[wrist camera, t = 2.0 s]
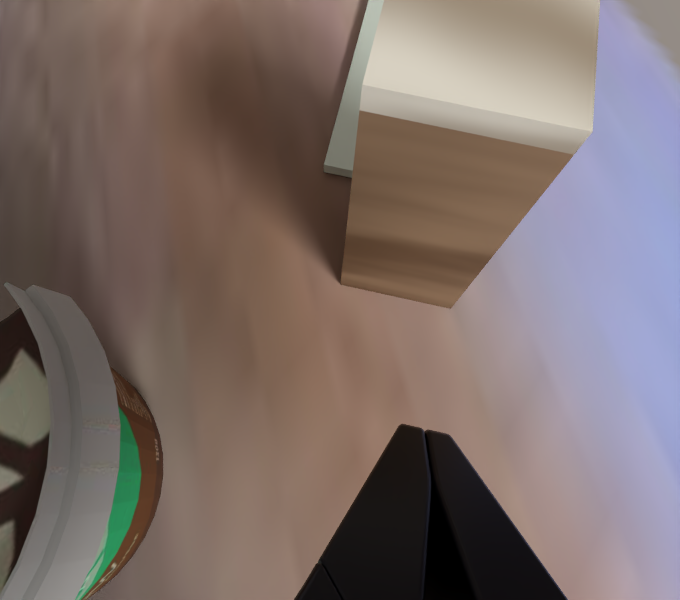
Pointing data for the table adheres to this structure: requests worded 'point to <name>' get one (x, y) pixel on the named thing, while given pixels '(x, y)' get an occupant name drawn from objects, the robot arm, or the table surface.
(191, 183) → the table surface
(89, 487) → the food container
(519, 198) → the walnut block
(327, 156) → the rubber mat
